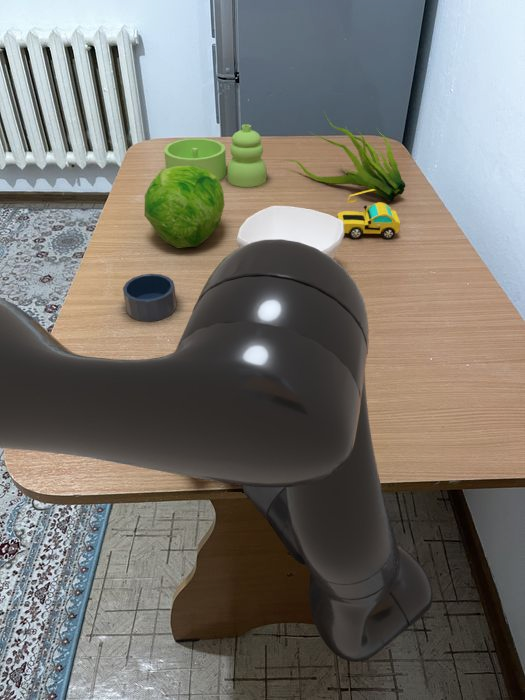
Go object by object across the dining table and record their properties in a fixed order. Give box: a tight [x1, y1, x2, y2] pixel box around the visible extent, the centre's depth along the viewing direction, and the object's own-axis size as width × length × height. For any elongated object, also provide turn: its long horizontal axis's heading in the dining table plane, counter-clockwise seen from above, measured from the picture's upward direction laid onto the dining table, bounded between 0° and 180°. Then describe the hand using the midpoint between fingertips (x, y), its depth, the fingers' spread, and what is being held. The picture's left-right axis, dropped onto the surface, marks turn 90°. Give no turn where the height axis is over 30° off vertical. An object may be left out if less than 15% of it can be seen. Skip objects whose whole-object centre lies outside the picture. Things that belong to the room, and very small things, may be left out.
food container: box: [163, 123, 268, 188], centre depth 134 cm, size 25×15×13 cm, turn 74°
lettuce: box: [144, 166, 225, 249], centre depth 112 cm, size 15×22×15 cm
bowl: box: [235, 205, 345, 259], centre depth 99 cm, size 18×18×9 cm
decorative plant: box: [279, 110, 406, 203], centre depth 130 cm, size 18×30×15 cm, turn 23°
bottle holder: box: [122, 273, 177, 323], centre depth 93 cm, size 8×8×4 cm
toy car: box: [336, 189, 401, 240], centre depth 113 cm, size 12×8×8 cm, turn 89°
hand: (206, 382), depth 71 cm, fingers open, 8 cm apart
